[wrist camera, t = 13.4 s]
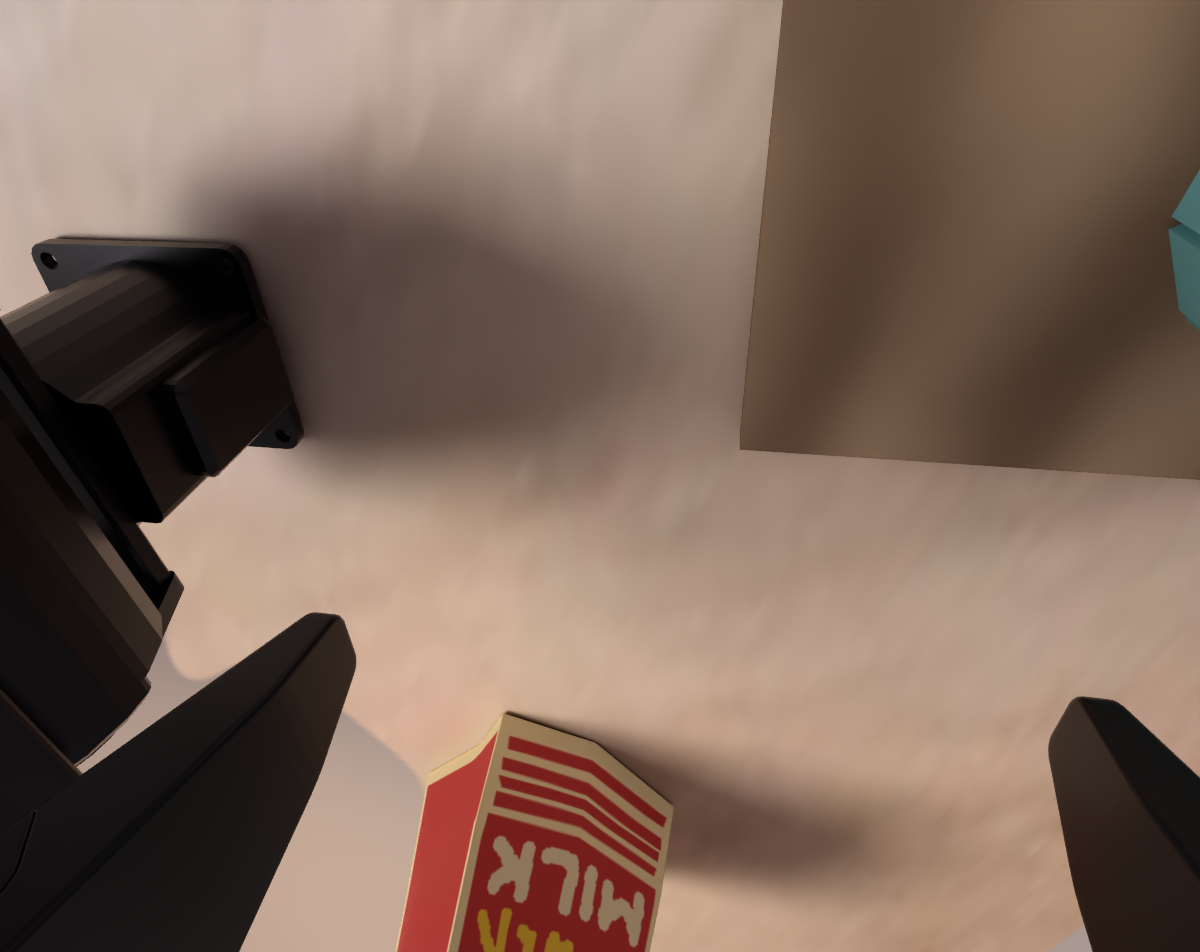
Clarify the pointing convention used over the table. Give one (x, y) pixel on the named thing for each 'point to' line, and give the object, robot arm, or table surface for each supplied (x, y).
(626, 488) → the table surface
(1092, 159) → the peg board
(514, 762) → the milk carton
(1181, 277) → the teal collar
